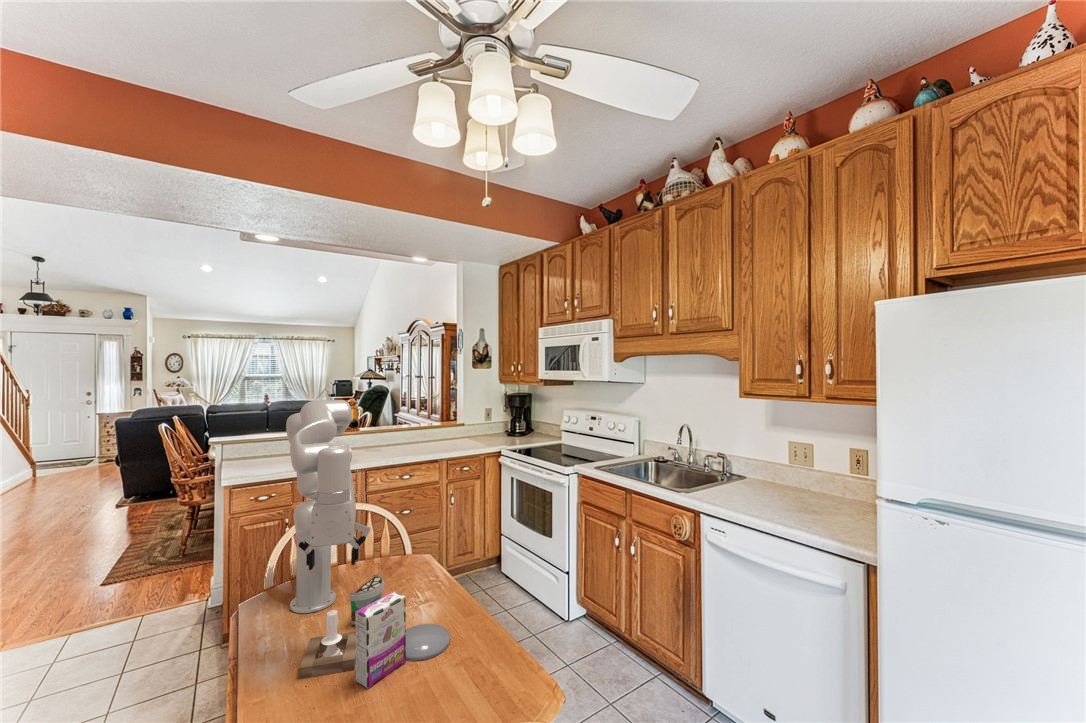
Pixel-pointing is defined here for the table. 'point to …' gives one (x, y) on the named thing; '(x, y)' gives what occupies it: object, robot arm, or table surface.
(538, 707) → the table surface
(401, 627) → the candy bar box
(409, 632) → the slate plate
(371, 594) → the food container
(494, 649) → the table surface
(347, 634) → the walnut socket
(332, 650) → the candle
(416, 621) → the table surface
